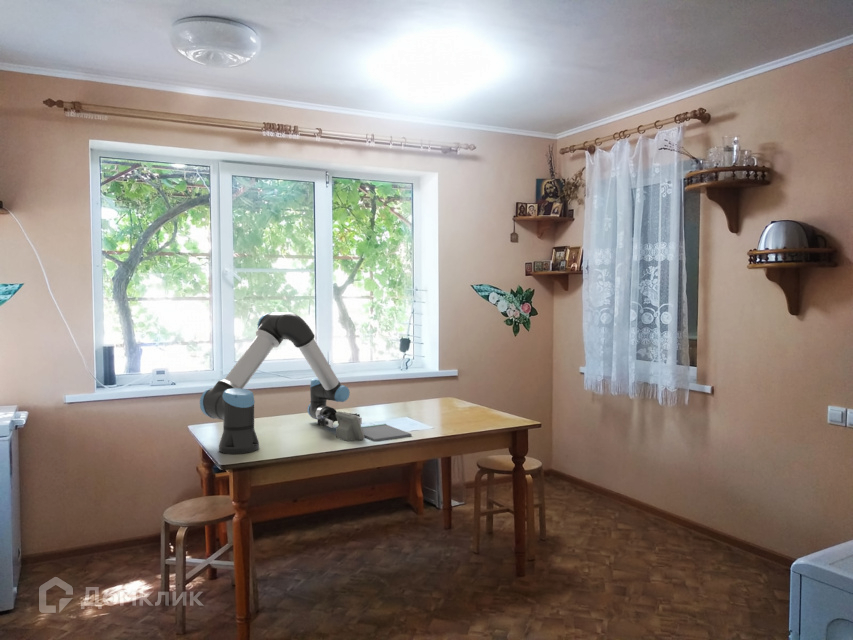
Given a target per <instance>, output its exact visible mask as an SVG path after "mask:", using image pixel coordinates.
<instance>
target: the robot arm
mask: <svg viewBox="0 0 853 640" xmlns="http://www.w3.org/2000/svg"><path fill="white" fill-rule="evenodd" d="M255 334H256V335H255V338H254V339H253V340H252V342H251V343H250V345H249V346H248V347H247V348H246V350H245V351H244V352H243V354H242V355H241V356H240V358H239V359H238V360H237V362H236V363H235V365H234V366H233V367H232V369H231V370H230V372H228V374H227V375H226V377H224V379H222V380H221V379H220V380H218V381H217V382H216V383H215V384H214V386H213V387H211V388H207V389H206V390H205V391H203V393H202V394H201V396H200V399H199V408H200V411H201V412H202V413H203V415H205V416H207V417H209V418H211V419H217V420H220V421H221V420H222V423H223V424H222V425H223V429H222V430H223V431H222V434H221V437H220V440H219V444H218V451H221V452H224V453H223V454H226V453H230V454H229V455H236V454H237V455H238V454H239V453H241V454H246V453H252V452H255V451H257V450H259V449H260V441H259V438H258V435H257V432H256V430H255V403H256V401H255V397H254V396H255V395H254V392H252V390H250V389H247V388H245V387H246V386H247V385H248V383H249V381H251V379H252V378H253V376H254V375H255V373H256V372H257V371H258V369H259V368H260V366H261V365H262V364H263V362H264V361H265V360H266V358H267V357H268V355H269V354H270V353H271V352H272V350H273V348H278V347H279V346H280V345H281V344H282V342H283V341H284V340H288V341H290V342H291V343H292V344H293V346H294V348H297V349H298V350H300V353H301V354H302V356H303V357H304V359H305V361H307V363H308V365H309V366H310V368H311V370H312V372H313V373H314V375H315V376H316V377H314V378H312V379H311V380H310V387H309V388H310V392H309V393H310V394H309V395H310V403H309V405H308V406H307V414H308V415H309V417H311V418H312V419H315V420H317V425H318V426H320V425H321V426H322V427H325V426H327V427H329V428H331V429H332V428H334V423H335V422H338V421H337V418H336V412H338V411H337V410H336V409H335V408H334V407H331V406H329V405H327V401H332V402H337V403H344V402H346V401H347V400H348V399H349V397H350V389H349V388H348V386H346V385H344V384H342V383H341V382H340V381H339V379H338V376H337V375H336V373H335V372H334V371H333V368H332V366H331V365H330V364H329V362H328V361H327V358H326V357H325V355H324V353H323V352H322V350H321V348H320V347H319V345H318V343H317V341H316V340H315V334H314V332H313V330H312V329H311V327H310V326H309V325H308V324H307V322H306V321H305V320H304V319H303V318H302V317H301V316H300V315H298V314H297V313H294V312H278V311H272V312H267V313H265V314H263V315H262V316H260V318H259V320H258V322H257V329H256V331H255ZM343 412H344V413H346V412H345V411H343ZM347 413H348V414H351V415H355V416H357V417H358V418H359V421H360V424H362V423H363V420H362V419H363V418H362V417H361V414H359V413H351V412H350V413H349V412H347ZM221 452H220V453H221Z"/></svg>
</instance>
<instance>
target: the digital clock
mask: <svg viewBox="0 0 853 640" xmlns="http://www.w3.org/2000/svg"><path fill="white" fill-rule="evenodd" d="M344 412H345V411H337V412H336V418H337V421H336V422H337V424H338V425H337V426H336V427H335V437H336V438H337V439H340V440H344V441H345V442H349V441H351V442H352V441H356V440H358V441H363V440H365V437H364V433H363V430H362V427H363V426H362V425H361V424H360V421H359V418H358V417H357V416H355V415H351V414H352V413H351V414H348V413H349V412H345V413H344Z"/></svg>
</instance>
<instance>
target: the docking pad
mask: <svg viewBox="0 0 853 640" xmlns="http://www.w3.org/2000/svg"><path fill="white" fill-rule="evenodd" d="M361 427H362V430H363V433H364V439H365V438H366V439H368V440H370V441H372V442H381V441H388V440H394V439H402V438H408V437H412V433H409V432H408V431H405V430H402V429H399V428H396V427H393V426H391V425H388V424H386V423H381V424H379V423H378V424H372V425H371V424H370V425H364V426H361Z"/></svg>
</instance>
